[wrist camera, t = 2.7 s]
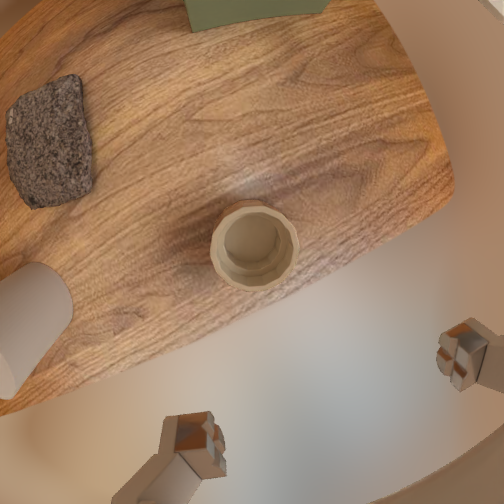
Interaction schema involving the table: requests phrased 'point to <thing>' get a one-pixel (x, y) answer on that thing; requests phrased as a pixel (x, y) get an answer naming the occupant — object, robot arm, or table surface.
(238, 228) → the small bowl
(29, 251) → the table surface
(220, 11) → the scale
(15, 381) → the taupe round pillar
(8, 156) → the stone
